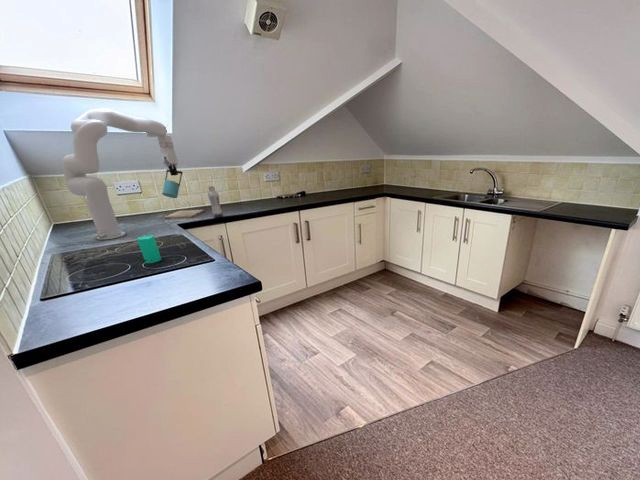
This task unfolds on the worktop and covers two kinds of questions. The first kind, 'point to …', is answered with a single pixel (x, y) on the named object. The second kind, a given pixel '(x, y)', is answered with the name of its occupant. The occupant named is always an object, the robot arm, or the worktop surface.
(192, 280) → the worktop surface
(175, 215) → the board
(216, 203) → the plastic bottle
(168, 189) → the bucket
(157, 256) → the candle
